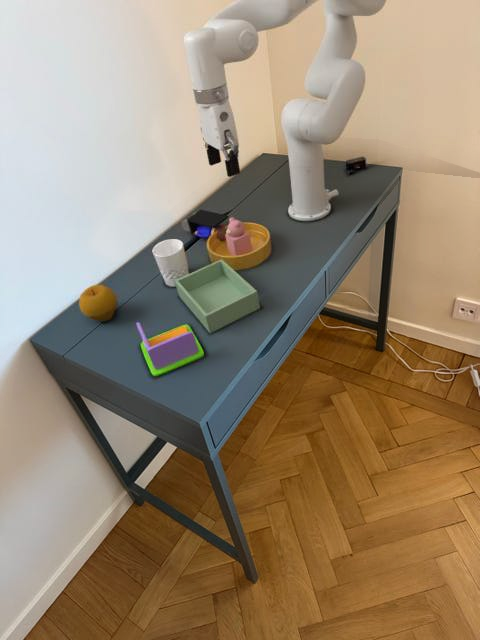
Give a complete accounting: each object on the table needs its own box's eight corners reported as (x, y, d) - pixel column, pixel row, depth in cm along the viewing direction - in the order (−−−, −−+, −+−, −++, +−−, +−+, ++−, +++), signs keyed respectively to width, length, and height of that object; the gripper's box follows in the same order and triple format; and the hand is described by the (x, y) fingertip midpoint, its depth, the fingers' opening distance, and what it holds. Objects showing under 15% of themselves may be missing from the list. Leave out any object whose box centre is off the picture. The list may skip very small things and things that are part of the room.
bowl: (251, 229, 135) (249, 215, 132) (284, 253, 123) (282, 239, 120) (199, 252, 130) (196, 238, 127) (228, 279, 118) (225, 265, 115)
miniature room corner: (153, 378, 96) (143, 355, 92) (139, 344, 105) (130, 322, 100) (206, 356, 98) (199, 333, 94) (188, 324, 107) (181, 302, 103)
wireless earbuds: (342, 170, 154) (342, 161, 152) (363, 165, 155) (363, 156, 153) (348, 176, 151) (348, 166, 149) (368, 170, 151) (369, 161, 149)
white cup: (196, 271, 123) (187, 239, 117) (184, 289, 118) (175, 257, 111) (170, 269, 126) (160, 238, 119) (158, 287, 121) (146, 255, 114)
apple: (87, 312, 118) (73, 284, 112) (121, 301, 118) (109, 273, 113) (88, 333, 111) (73, 305, 105) (124, 322, 112) (111, 293, 106)
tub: (225, 275, 120) (221, 259, 117) (260, 308, 108) (257, 291, 104) (179, 296, 116) (174, 280, 113) (210, 333, 104) (205, 316, 100)
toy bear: (244, 244, 129) (238, 213, 122) (252, 251, 125) (246, 219, 119) (227, 252, 127) (220, 220, 121) (235, 259, 124) (228, 227, 117)
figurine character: (185, 240, 139) (220, 248, 129) (176, 218, 134) (213, 223, 125) (200, 230, 142) (235, 236, 133) (192, 207, 138) (228, 212, 128)
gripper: (245, 96, 96) (255, 174, 107) (209, 84, 109) (221, 155, 120) (213, 106, 94) (227, 185, 105) (180, 92, 106) (195, 164, 118)
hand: (224, 169), depth 112 cm, fingers open, 9 cm apart
